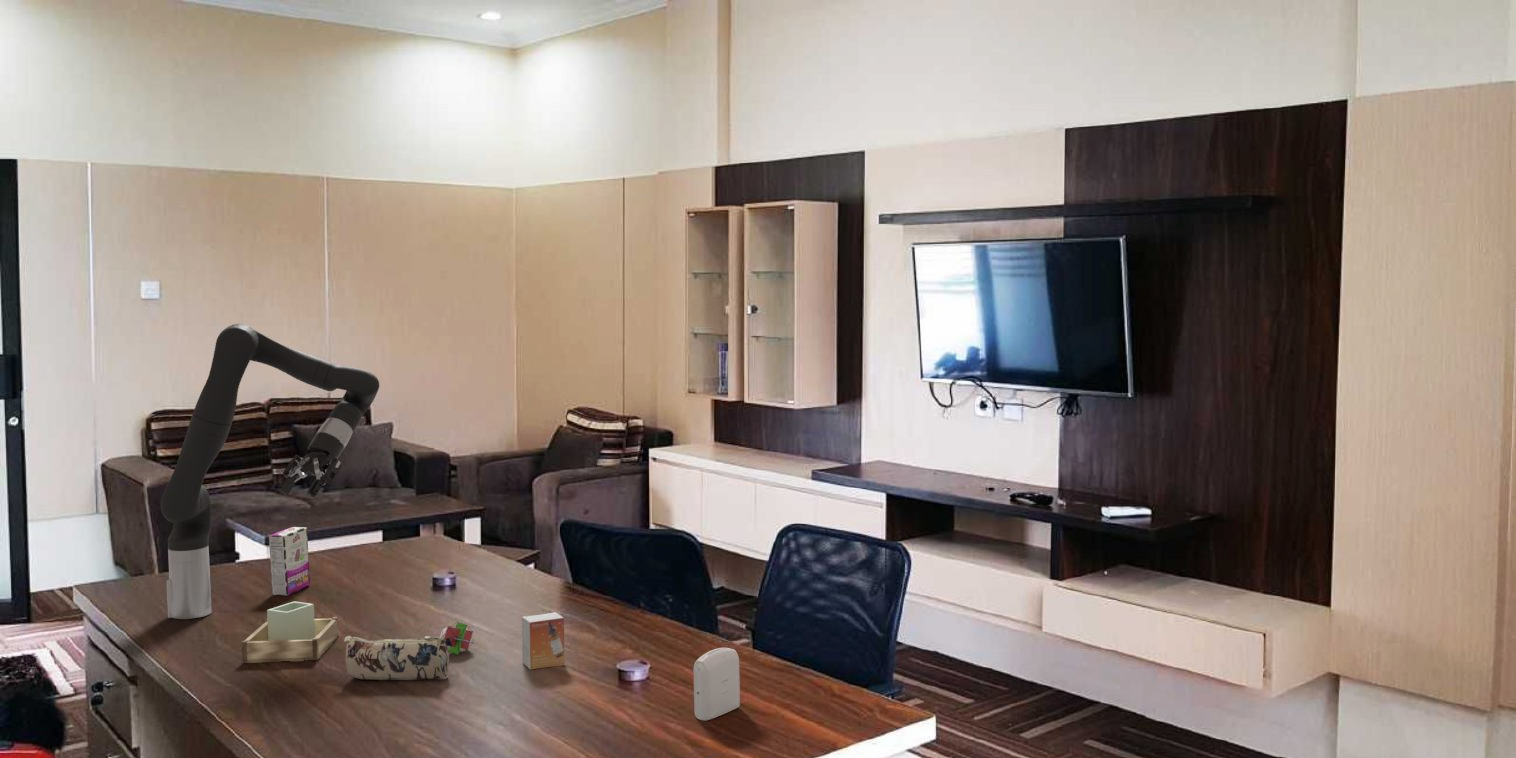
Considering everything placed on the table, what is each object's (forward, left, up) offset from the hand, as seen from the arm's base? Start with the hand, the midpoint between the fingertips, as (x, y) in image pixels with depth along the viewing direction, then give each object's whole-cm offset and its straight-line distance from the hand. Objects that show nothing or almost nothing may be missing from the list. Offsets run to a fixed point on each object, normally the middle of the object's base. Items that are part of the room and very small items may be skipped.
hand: (297, 494), depth 296 cm
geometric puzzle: (+41, -24, -33) cm, 57 cm away
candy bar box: (-13, +37, -33) cm, 51 cm away
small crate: (+3, -18, -32) cm, 36 cm away
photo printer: (+97, -69, -33) cm, 123 cm away
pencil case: (+31, -41, -33) cm, 61 cm away
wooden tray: (+3, -18, -33) cm, 37 cm away
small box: (+61, -35, -33) cm, 77 cm away
